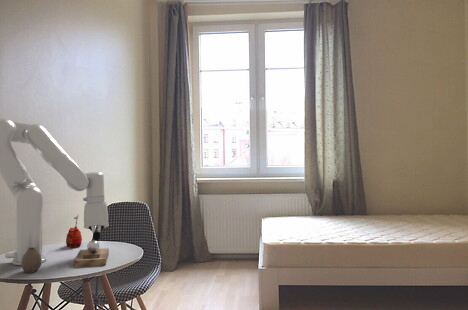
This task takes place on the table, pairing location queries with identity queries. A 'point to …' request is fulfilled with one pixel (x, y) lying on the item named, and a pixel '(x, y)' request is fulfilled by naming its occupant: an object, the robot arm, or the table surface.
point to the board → (91, 258)
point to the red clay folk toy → (74, 237)
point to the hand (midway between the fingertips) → (96, 240)
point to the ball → (93, 246)
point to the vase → (31, 260)
